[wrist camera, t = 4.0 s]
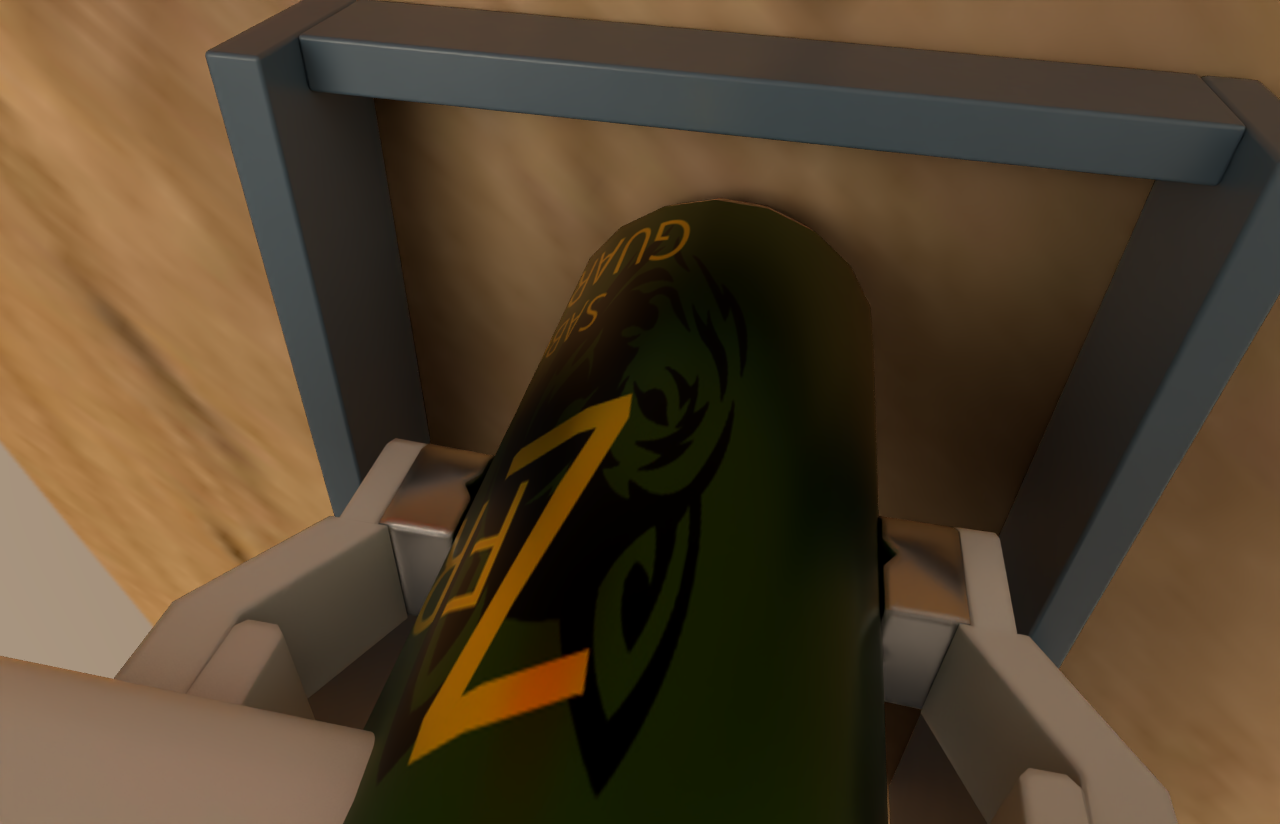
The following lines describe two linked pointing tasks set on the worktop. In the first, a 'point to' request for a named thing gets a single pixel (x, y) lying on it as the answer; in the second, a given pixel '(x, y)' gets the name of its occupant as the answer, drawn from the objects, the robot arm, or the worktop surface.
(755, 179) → the worktop surface
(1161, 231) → the rack
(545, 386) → the green drink can
